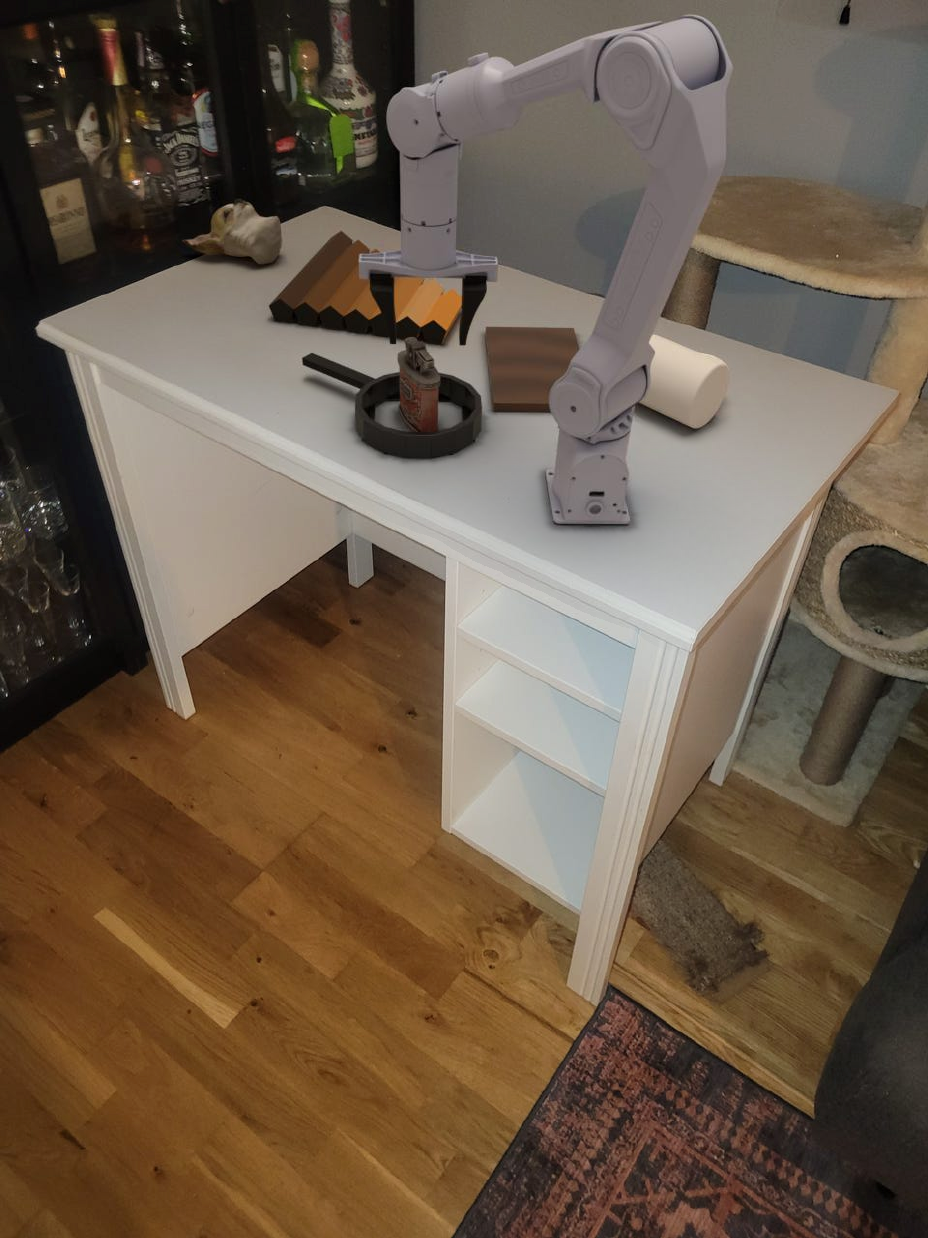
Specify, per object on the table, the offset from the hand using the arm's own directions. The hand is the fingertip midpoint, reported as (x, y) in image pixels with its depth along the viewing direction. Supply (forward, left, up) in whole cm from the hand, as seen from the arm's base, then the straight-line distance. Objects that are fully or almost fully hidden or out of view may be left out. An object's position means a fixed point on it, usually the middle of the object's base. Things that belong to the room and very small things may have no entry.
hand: (427, 340), depth 106 cm
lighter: (-1, +1, -10) cm, 10 cm away
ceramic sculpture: (+47, +28, -10) cm, 56 cm away
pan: (+1, +5, -10) cm, 11 cm away
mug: (+4, -31, -10) cm, 33 cm away
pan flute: (+34, +6, -10) cm, 36 cm away
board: (+12, -14, -10) cm, 21 cm away
